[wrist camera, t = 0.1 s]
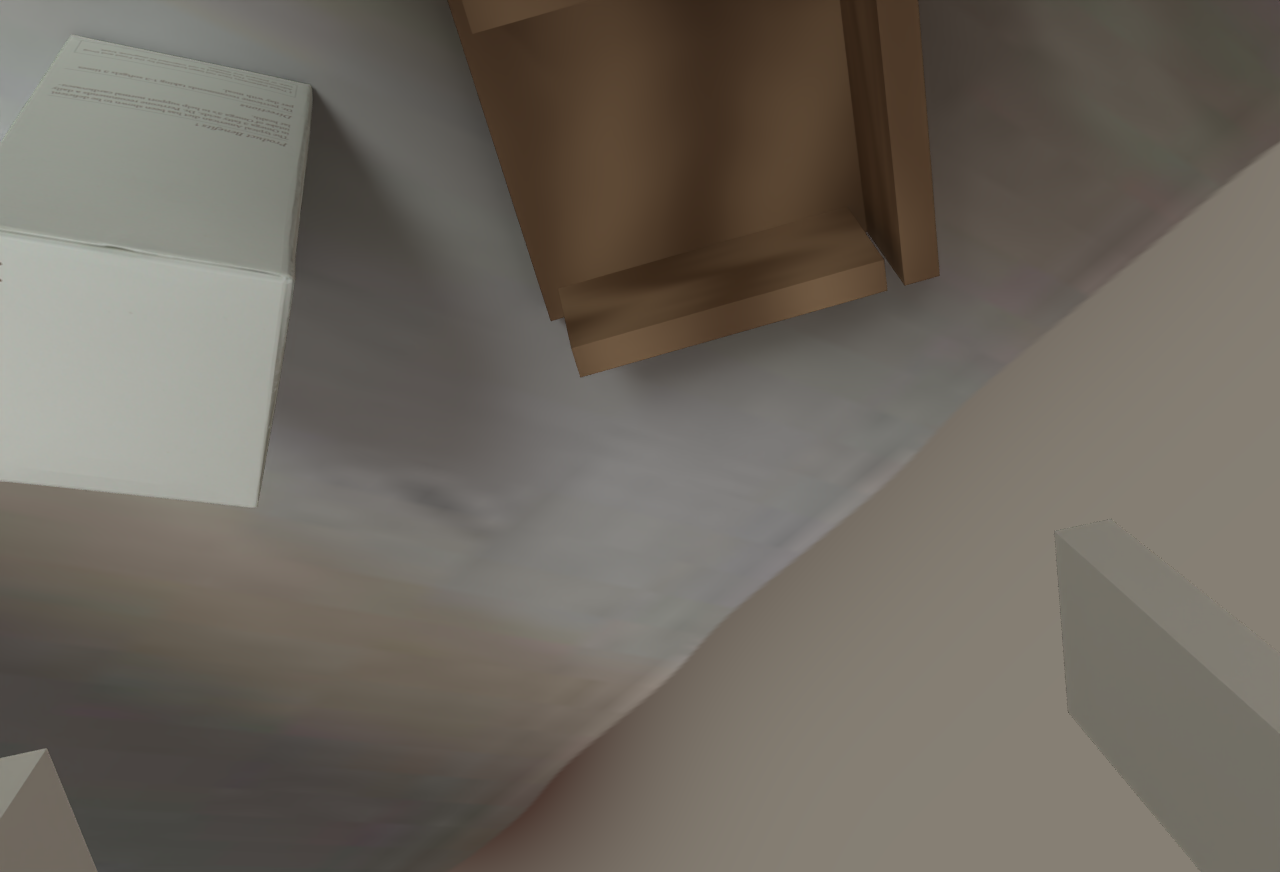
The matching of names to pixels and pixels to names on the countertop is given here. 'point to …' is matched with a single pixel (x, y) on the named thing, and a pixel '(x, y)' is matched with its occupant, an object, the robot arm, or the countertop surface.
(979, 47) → the countertop surface
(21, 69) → the countertop surface
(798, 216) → the u rest
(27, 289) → the supplement box
